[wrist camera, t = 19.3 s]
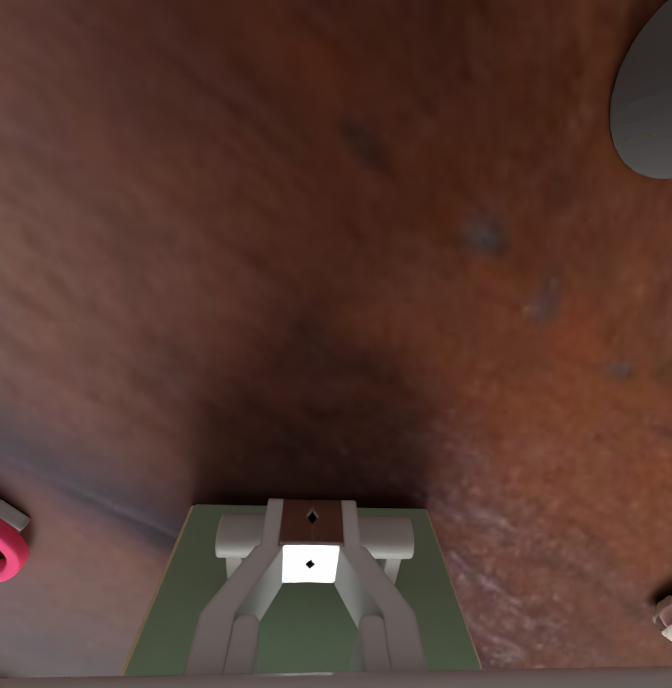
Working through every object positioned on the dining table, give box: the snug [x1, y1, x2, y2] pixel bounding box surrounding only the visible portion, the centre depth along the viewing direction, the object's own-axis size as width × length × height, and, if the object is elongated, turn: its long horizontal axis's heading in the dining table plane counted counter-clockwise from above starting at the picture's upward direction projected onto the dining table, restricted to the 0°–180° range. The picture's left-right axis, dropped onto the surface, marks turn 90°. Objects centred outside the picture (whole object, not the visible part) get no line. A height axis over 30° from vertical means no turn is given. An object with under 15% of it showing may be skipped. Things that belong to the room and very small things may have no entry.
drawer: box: [124, 504, 481, 676], centre depth 16 cm, size 18×12×7 cm
